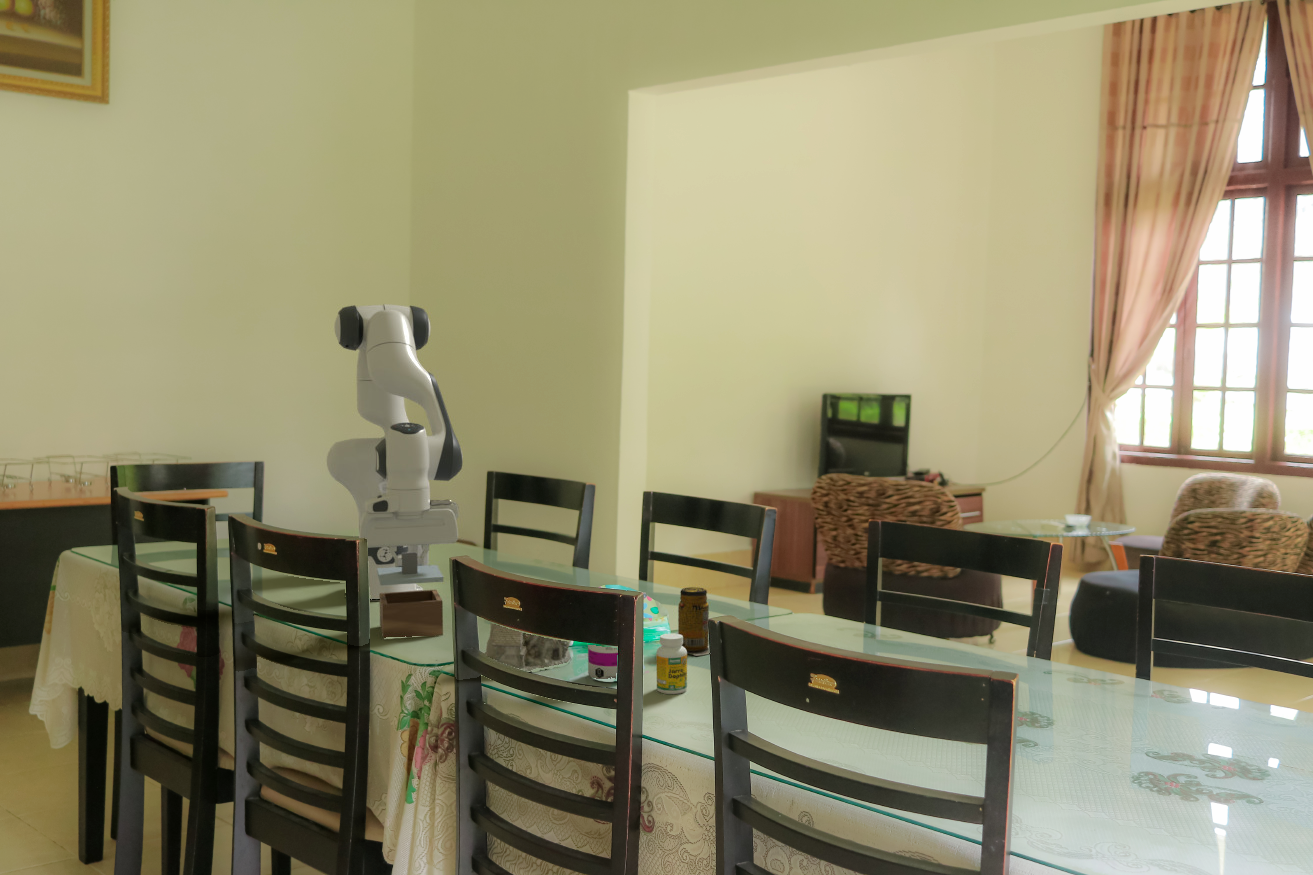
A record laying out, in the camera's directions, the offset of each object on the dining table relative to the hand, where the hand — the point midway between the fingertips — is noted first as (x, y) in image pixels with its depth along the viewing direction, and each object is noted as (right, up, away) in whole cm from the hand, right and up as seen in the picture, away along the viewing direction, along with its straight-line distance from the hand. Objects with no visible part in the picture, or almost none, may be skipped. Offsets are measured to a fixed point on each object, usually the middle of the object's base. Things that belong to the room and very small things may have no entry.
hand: (409, 566), depth 225 cm
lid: (0, -2, 0) cm, 2 cm away
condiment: (+60, -15, -12) cm, 63 cm away
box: (0, -15, +1) cm, 14 cm away
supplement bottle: (+55, -17, -39) cm, 69 cm away
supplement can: (+44, -17, -31) cm, 56 cm away
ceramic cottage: (+27, -16, -22) cm, 39 cm away
